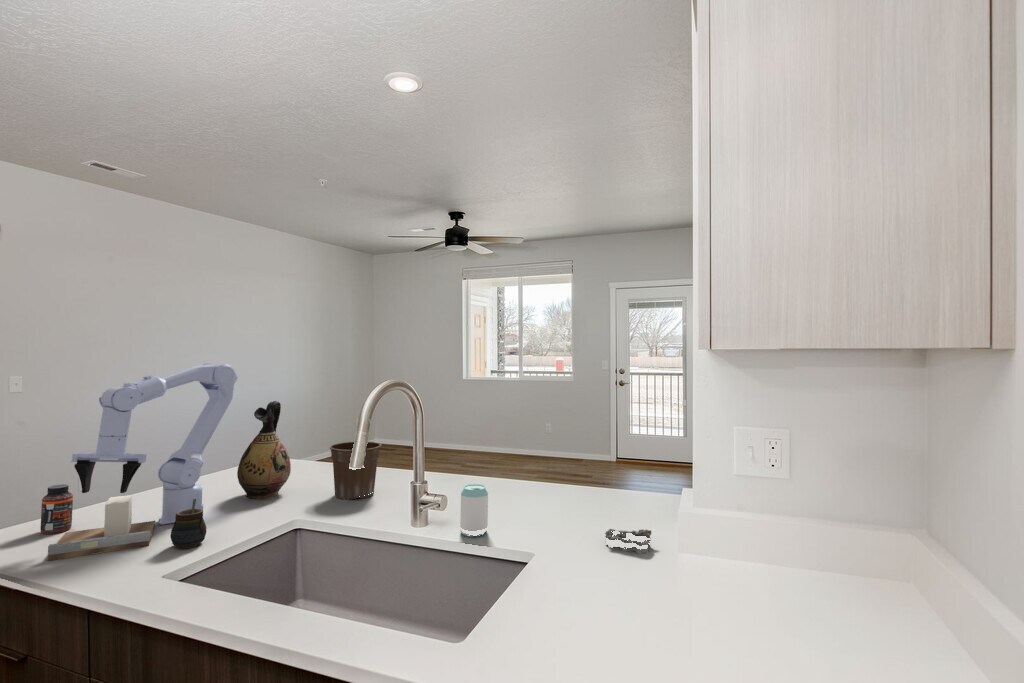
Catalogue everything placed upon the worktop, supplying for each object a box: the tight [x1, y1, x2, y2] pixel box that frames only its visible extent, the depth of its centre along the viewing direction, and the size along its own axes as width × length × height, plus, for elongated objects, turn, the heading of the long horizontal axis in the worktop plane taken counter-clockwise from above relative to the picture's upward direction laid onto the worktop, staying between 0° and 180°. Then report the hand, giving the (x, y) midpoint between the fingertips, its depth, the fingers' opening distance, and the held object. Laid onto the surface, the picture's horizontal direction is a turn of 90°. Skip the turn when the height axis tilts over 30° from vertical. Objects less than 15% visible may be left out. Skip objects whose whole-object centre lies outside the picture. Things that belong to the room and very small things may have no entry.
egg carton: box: [604, 528, 652, 555], centre depth 123 cm, size 11×8×4 cm
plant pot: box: [329, 441, 382, 501], centre depth 164 cm, size 16×16×16 cm
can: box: [459, 483, 489, 538], centre depth 131 cm, size 7×7×12 cm
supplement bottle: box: [39, 483, 74, 535], centre depth 128 cm, size 6×6×11 cm
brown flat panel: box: [47, 520, 156, 562], centre depth 122 cm, size 18×16×1 cm
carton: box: [103, 494, 133, 537], centre depth 124 cm, size 4×7×8 cm, turn 31°
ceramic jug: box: [236, 400, 292, 500], centre depth 163 cm, size 17×15×30 cm
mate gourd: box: [169, 499, 207, 550], centre depth 120 cm, size 7×8×10 cm
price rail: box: [47, 531, 150, 556], centre depth 115 cm, size 18×1×2 cm, turn 121°
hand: (104, 492), depth 123 cm, fingers open, 7 cm apart
